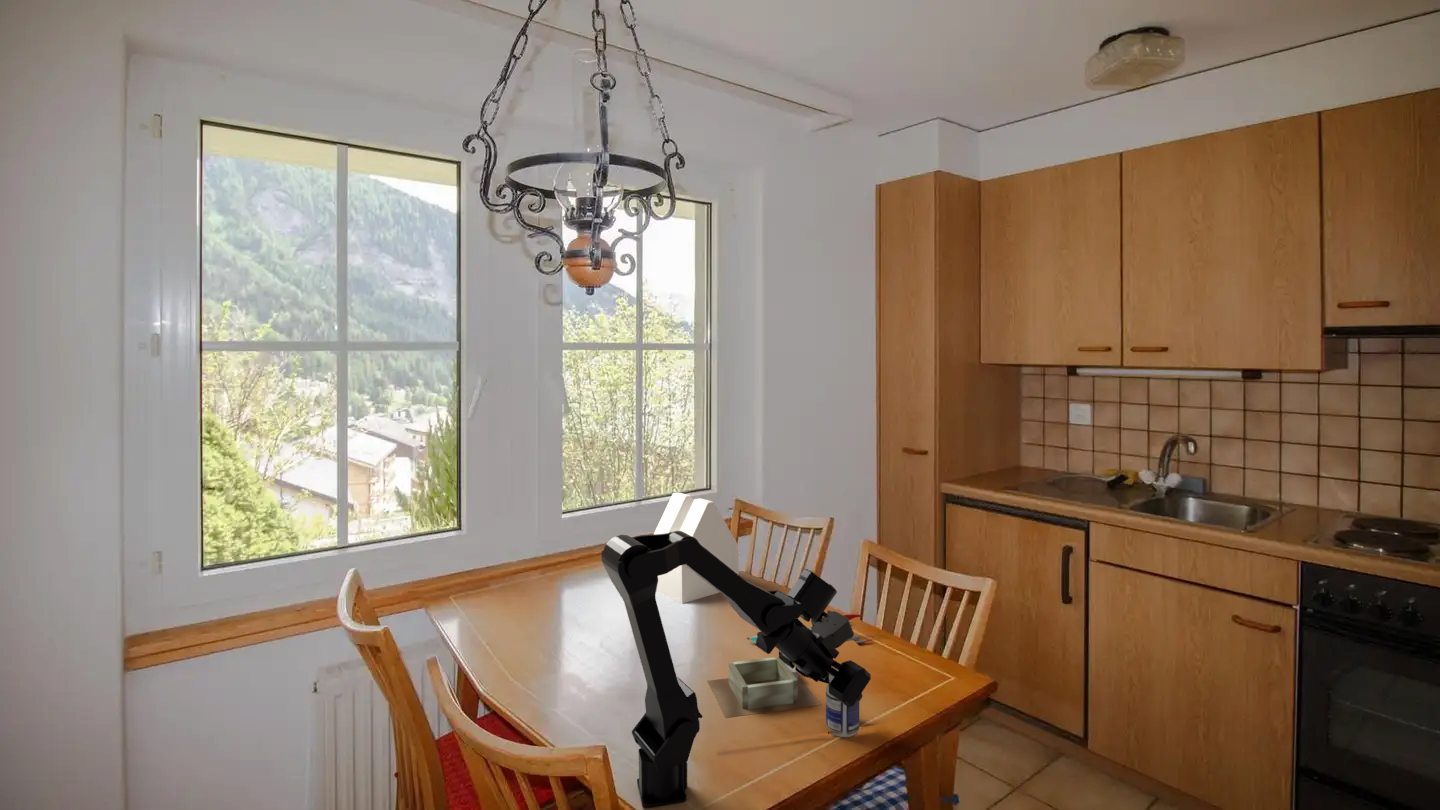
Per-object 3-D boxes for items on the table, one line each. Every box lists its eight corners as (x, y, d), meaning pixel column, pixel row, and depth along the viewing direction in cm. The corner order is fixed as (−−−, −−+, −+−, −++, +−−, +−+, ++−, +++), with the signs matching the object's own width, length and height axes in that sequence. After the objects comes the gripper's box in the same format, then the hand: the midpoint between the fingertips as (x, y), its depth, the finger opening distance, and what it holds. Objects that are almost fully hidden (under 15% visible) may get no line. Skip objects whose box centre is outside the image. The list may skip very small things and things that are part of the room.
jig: (725, 723, 124) (725, 695, 123) (707, 685, 137) (706, 660, 137) (821, 709, 128) (821, 683, 128) (794, 674, 142) (794, 650, 141)
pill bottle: (855, 720, 125) (855, 665, 124) (862, 738, 119) (863, 681, 118) (822, 720, 125) (823, 666, 124) (828, 739, 119) (829, 682, 118)
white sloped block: (682, 604, 181) (681, 507, 178) (648, 588, 192) (646, 497, 190) (738, 587, 193) (738, 497, 191) (703, 573, 205) (702, 488, 203)
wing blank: (783, 683, 136) (783, 673, 136) (776, 673, 140) (776, 663, 140) (798, 681, 137) (798, 671, 137) (790, 671, 141) (790, 661, 141)
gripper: (862, 621, 110) (913, 673, 116) (792, 585, 126) (841, 632, 132) (821, 682, 107) (875, 732, 113) (755, 637, 123) (806, 683, 129)
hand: (848, 690), depth 122 cm, fingers closed on pill bottle, 6 cm apart
